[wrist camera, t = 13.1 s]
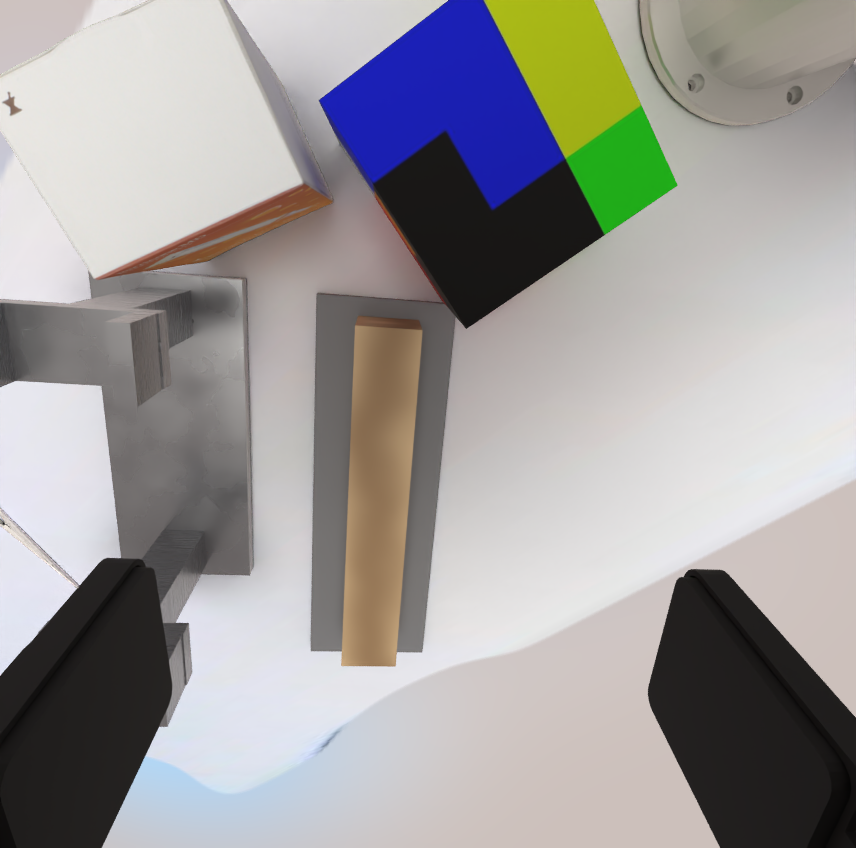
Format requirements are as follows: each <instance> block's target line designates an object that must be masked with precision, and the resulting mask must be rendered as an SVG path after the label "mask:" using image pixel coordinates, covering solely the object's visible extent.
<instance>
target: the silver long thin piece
mask: <svg viewBox="0 0 856 848" xmlns="http://www.w3.org/2000/svg"><path fill="white" fill-rule="evenodd" d="M0 516H1V517H2V519H3V520H4V522H5V523H4V522H3V521H2V520H1V519H0V526H1V527H2V528H4V529H5V530H6V531H7V532H9V533H10V534H11V535H12V536H13V537H15V538H16V539H17V540H18V541H20V542H21V543H22V544H23V545H25V546H26V547H27V548H28V549H29V550H31V551H32V552H33V553H34V554H36V555H37V556H38V557H39V558H40V559H42V560H43V561H44V562H45V563H47V564H48V565H49V566H50V567H52V568H53V569H54V570H55V571H56V572H58V573H59V574H60V575H61V576H63V577H64V578H65V579H66V580H68V581H69V582H70V583H71V584H72V585H74V586H75V587H76V588H78V587H79V585H78V584H77V583H76V582H75V581H74V580H73V579H72V578H71V577H70V576H69V575H68V574H67V573H66V572H65V571H64V570H63V569H62V568H61V567H60V566H59V565H57V564H56V563H55V562H54V561H53V560H52V559H51V558H50V557H49V556H48V555H47V554H46V553H45V552H44V551H43V550H42V549H41V548H40V547H39V546H38V545H37V544H36V543H35V542H34V541H33V540H32V539H31V538H30V537H29V536H28V535H27V534H26V533H25V532H24V531H23V530H22V529H21V528H20V527H19V526H18V525H17V524H16V523H15V522H14V521H13V520H12V519H11V518H10V517H9V516H8V515H7V514H6V513H5V512H4V511H3V510H2V509H1V508H0Z"/></svg>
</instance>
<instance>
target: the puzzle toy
mask: <svg viewBox="0 0 856 848" xmlns="http://www.w3.org/2000/svg"><path fill="white" fill-rule="evenodd" d="M319 102H320V104H321V106H322V108H323V110H324V112H325V114H326V116H327V118H328V120H329V123H330V125H331V127H332V129H333V131H334V133H335V135H336V137H337V139H338V141H339V143H340V145H341V146H342V148H343V149H344V151H345V152H346V154H347V155H348V157H349V158H350V160H351V161H352V163H353V165H354V166H355V168H356V169H357V171H358V172H359V174H360V175H361V177H362V178H363V180H364V181H365V183H366V185H367V186H368V188H369V189H370V191H371V192H372V194H373V195H374V197H375V198H376V200H377V201H378V203H379V205H380V206H381V208H382V209H383V211H384V212H385V214H386V215H387V217H388V218H389V220H390V221H391V223H392V225H393V226H394V228H395V229H396V231H397V232H398V234H399V235H400V237H401V238H402V240H403V241H404V243H405V245H406V246H407V248H408V249H409V251H410V252H411V254H412V255H413V257H414V258H415V260H416V261H417V263H418V265H419V266H420V268H421V269H422V271H423V272H424V274H425V275H426V277H427V278H428V280H429V281H430V283H431V284H432V286H433V288H434V289H435V291H436V292H437V294H438V295H439V297H440V298H441V300H442V301H443V302H444V304H445V305H446V306H447V307H448V308H449V309H450V311H451V312H452V313H453V314H454V315H455V316H456V317H457V319H458V320H459V321H460V322H461V323H462V324H463V326H464V327H465V328H466V329H467V328H468V327H470V326H471V325H473V324H474V323H476V322H477V321H479V320H480V319H482V318H483V317H485V316H486V315H487V314H489V313H490V312H492V311H493V310H495V309H496V308H498V307H499V306H501V305H502V304H504V303H505V302H507V301H508V300H510V299H511V298H512V297H514V296H515V295H517V294H518V293H520V292H521V291H523V290H524V289H526V288H527V287H529V286H530V285H532V284H533V283H535V282H536V281H538V280H539V279H540V278H542V277H543V276H545V275H546V274H548V273H549V272H551V271H552V270H554V269H555V268H557V267H558V266H560V265H561V264H563V263H564V262H566V261H567V260H568V259H570V258H571V257H573V256H574V255H576V254H577V253H579V252H580V251H582V250H583V249H585V248H586V247H588V246H589V245H591V244H592V243H594V242H595V241H596V240H598V239H599V238H601V237H602V236H604V235H605V234H607V233H608V232H610V231H611V230H613V229H614V228H616V227H617V226H619V225H620V224H622V223H623V222H624V221H626V220H627V219H629V218H630V217H632V216H633V215H635V214H636V213H638V212H639V211H641V210H642V209H644V208H645V207H647V206H648V205H650V204H651V203H652V202H654V201H655V200H657V199H658V198H660V197H661V196H663V195H664V194H666V193H667V192H669V191H670V190H672V189H673V188H675V187H676V186H678V185H677V183H676V181H675V179H674V176H673V174H672V172H671V170H670V167H669V165H668V163H667V161H666V159H665V156H664V154H663V152H662V150H661V148H660V145H659V143H658V141H657V139H656V137H655V134H654V132H653V130H652V128H651V126H650V123H649V121H648V119H647V117H646V114H645V112H644V110H643V108H642V106H641V103H640V101H639V99H638V97H637V95H636V92H635V90H634V88H633V86H632V84H631V81H630V79H629V77H628V75H627V73H626V70H625V68H624V66H623V64H622V61H621V59H620V57H619V55H618V53H617V50H616V48H615V46H614V44H613V42H612V39H611V37H610V35H609V33H608V31H607V28H606V26H605V24H604V22H603V19H602V17H601V15H600V13H599V11H598V8H597V6H596V4H595V2H594V0H448V1H447V2H446V3H444V4H443V5H442V6H441V7H439V8H438V9H437V10H435V11H434V12H433V13H431V14H430V15H429V16H428V17H426V18H425V19H424V20H422V21H421V22H420V23H418V24H417V25H416V26H415V27H413V28H412V29H411V30H409V31H408V32H407V33H405V34H404V35H403V36H402V37H400V38H399V39H398V40H396V41H395V42H394V43H392V44H391V45H390V46H389V47H387V48H386V49H385V50H383V51H382V52H381V53H380V54H378V55H377V56H376V57H374V58H373V59H372V60H370V61H369V62H368V63H367V64H365V65H364V66H363V67H361V68H360V69H359V70H357V71H356V72H355V73H354V74H352V75H351V76H350V77H348V78H347V79H346V80H344V81H343V82H342V83H341V84H339V85H338V86H337V87H335V88H334V89H333V90H331V91H330V92H329V93H328V94H326V95H325V96H324V97H322V98H321V99H320V100H319Z"/></svg>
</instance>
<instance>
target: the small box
mask: <svg viewBox="0 0 856 848" xmlns="http://www.w3.org/2000/svg"><path fill="white" fill-rule="evenodd" d="M0 131H1V132H2V134H3V136H4V137H5V139H6V141H7V142H8V144H9V145H10V147H11V149H12V150H13V152H14V153H15V155H16V157H17V158H18V160H19V161H20V163H21V164H22V166H23V168H24V169H25V171H26V172H27V174H28V176H29V177H30V179H31V180H32V182H33V184H34V185H35V187H36V188H37V190H38V191H39V193H40V195H41V196H42V198H43V199H44V201H45V202H46V204H47V206H48V207H49V209H50V210H51V212H52V213H53V215H54V216H55V218H56V220H57V221H58V223H59V224H60V226H61V228H62V229H63V231H64V232H65V234H66V236H67V237H68V239H69V240H70V242H71V244H72V245H73V247H74V248H75V250H76V251H77V253H78V254H79V256H80V257H81V259H82V260H83V262H84V264H85V265H86V267H87V269H88V270H89V272H90V274H91V275H92V277H93V278H94V279H96V280H100V279H105V278H110V277H115V276H120V275H126V274H132V273H138V272H144V271H151V270H157V269H163V268H169V267H174V266H180V265H186V264H194V263H200V262H206V261H209V260H211V259H213V258H215V257H216V256H218V255H220V254H222V253H224V252H226V251H228V250H230V249H232V248H234V247H236V246H238V245H240V244H242V243H244V242H247V241H249V240H251V239H253V238H255V237H257V236H260V235H262V234H264V233H266V232H268V231H270V230H272V229H274V228H277V227H279V226H281V225H283V224H286V223H288V222H290V221H292V220H294V219H297V218H299V217H301V216H303V215H306V214H308V213H310V212H312V211H315V210H317V209H319V208H322V207H324V206H326V205H329V204H331V203H332V202H333V198H332V195H331V193H330V191H329V189H328V186H327V184H326V182H325V180H324V177H323V175H322V173H321V171H320V168H319V166H318V164H317V162H316V159H315V157H314V155H313V153H312V150H311V148H310V146H309V144H308V141H307V139H306V137H305V135H304V132H303V130H302V128H301V126H300V123H299V121H298V119H297V117H296V114H295V112H294V110H293V108H292V105H291V103H290V101H289V99H288V96H287V94H286V92H285V90H284V88H283V85H282V84H281V82H280V80H279V78H278V77H277V75H276V74H275V72H274V71H273V69H272V68H271V66H270V65H269V63H268V61H267V60H266V59H265V57H264V56H263V54H262V53H261V51H260V50H259V48H258V47H257V45H256V44H255V42H254V41H253V39H252V38H251V36H250V35H249V33H248V32H247V30H246V29H245V27H244V25H243V24H242V22H241V21H240V19H239V18H238V16H237V15H236V13H235V12H234V10H233V9H232V7H231V6H230V4H229V3H228V1H227V0H148V1H146V2H144V3H142V4H139V5H137V6H135V7H133V8H131V9H129V10H127V11H124V12H122V13H120V14H118V15H116V16H113V17H111V18H108V19H106V20H103V21H101V22H98V23H96V24H93V25H91V26H89V27H87V28H85V29H83V30H81V31H79V32H77V33H75V34H73V35H71V36H69V37H68V38H66V39H64V40H62V41H60V42H58V43H57V44H56V45H54V46H53V47H51V48H50V49H48V50H46V51H44V52H43V53H41V54H39V55H37V56H35V57H33V58H31V59H29V60H27V61H26V62H23V63H21V64H19V65H17V66H15V67H13V68H11V69H10V70H8V71H6V72H4V73H3V74H0Z"/></svg>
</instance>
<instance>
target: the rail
mask: <svg viewBox="0 0 856 848" xmlns="http://www.w3.org/2000/svg"><path fill="white" fill-rule="evenodd" d="M422 331H423V330H422V328H421V325H420V322H419V320H411V319H398V318H384V317H370V316H358V318H357V321H356V324H355V341H354V366H353V390H352V415H351V440H350V465H349V489H348V514H347V539H346V564H345V588H344V613H343V638H342V663H341V666H396V654H397V641H398V629H399V616H400V604H401V592H402V579H403V567H404V554H405V542H406V530H407V517H408V505H409V492H410V480H411V468H412V455H413V443H414V430H415V418H416V406H417V393H418V381H419V368H420V356H421V344H422Z"/></svg>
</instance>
